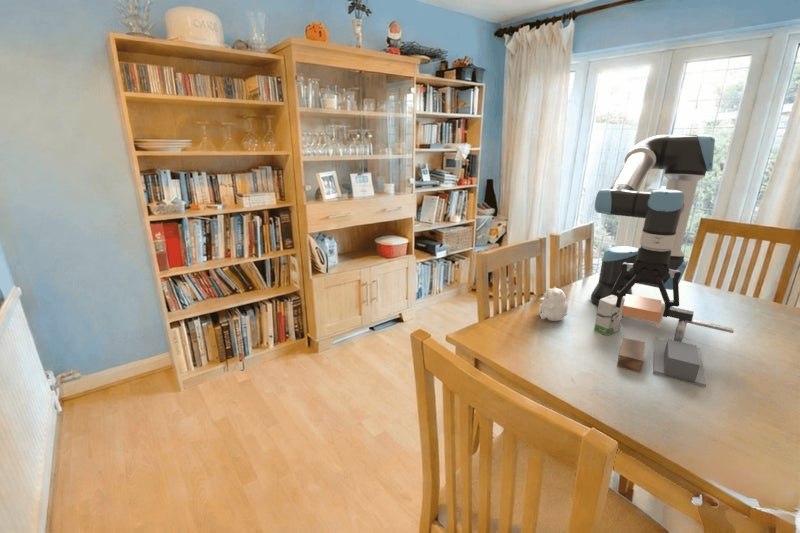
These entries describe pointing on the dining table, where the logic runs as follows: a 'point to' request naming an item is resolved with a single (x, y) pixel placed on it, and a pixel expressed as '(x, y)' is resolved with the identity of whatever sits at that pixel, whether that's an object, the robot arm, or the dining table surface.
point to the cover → (642, 308)
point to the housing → (678, 361)
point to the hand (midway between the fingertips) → (638, 321)
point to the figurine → (553, 305)
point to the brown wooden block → (631, 354)
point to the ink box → (607, 316)
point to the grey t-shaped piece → (691, 322)
